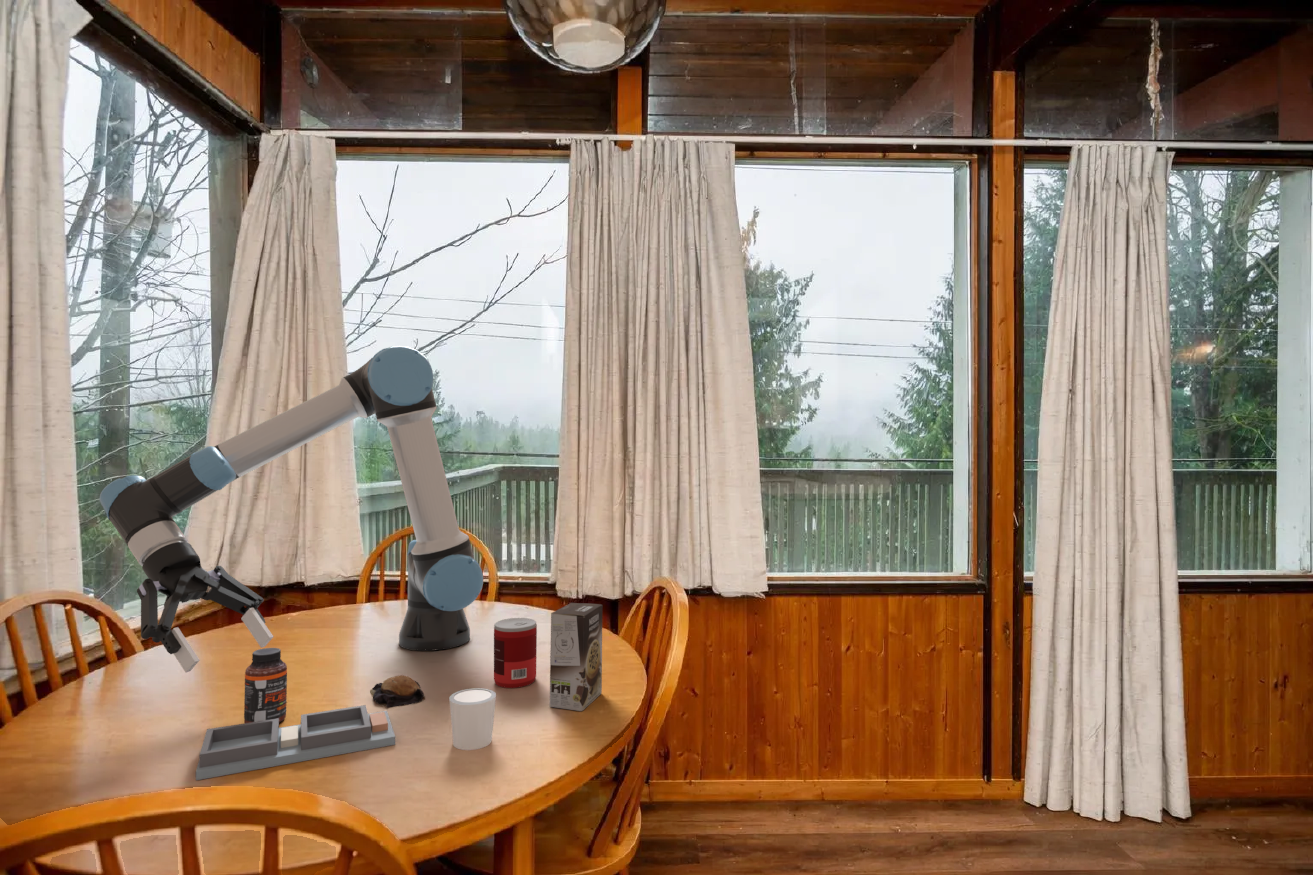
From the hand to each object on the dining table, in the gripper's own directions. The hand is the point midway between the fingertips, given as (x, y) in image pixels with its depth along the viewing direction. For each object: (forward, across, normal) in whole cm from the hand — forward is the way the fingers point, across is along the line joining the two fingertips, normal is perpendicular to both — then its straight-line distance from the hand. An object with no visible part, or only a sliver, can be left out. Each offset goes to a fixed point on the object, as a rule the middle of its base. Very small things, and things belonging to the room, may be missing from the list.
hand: (232, 653), depth 114 cm
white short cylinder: (+37, -5, +22) cm, 43 cm away
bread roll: (+21, -17, +5) cm, 28 cm away
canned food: (+32, -31, +17) cm, 47 cm away
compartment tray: (+20, +4, +6) cm, 22 cm away
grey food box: (+42, -26, +27) cm, 57 cm away
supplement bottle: (+12, -1, -3) cm, 12 cm away
